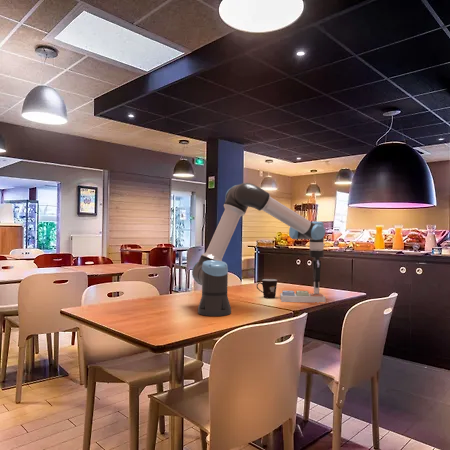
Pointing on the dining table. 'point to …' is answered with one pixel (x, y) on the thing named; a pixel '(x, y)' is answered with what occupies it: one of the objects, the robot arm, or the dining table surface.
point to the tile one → (288, 293)
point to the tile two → (302, 293)
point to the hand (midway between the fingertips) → (316, 293)
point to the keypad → (302, 298)
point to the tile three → (315, 294)
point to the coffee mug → (268, 288)
